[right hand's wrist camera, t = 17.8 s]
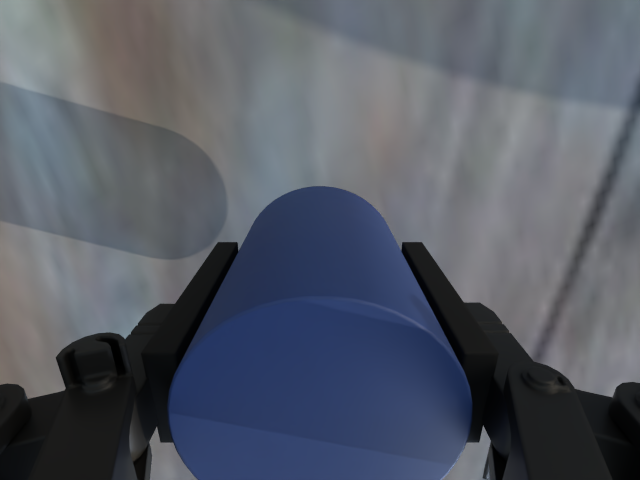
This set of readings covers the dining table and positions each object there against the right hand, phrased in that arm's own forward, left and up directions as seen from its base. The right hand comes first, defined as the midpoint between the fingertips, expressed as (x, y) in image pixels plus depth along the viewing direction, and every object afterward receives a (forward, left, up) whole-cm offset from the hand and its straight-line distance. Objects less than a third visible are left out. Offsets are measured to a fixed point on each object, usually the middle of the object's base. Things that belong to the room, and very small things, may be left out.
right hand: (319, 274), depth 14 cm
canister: (0, 0, -1) cm, 1 cm away
